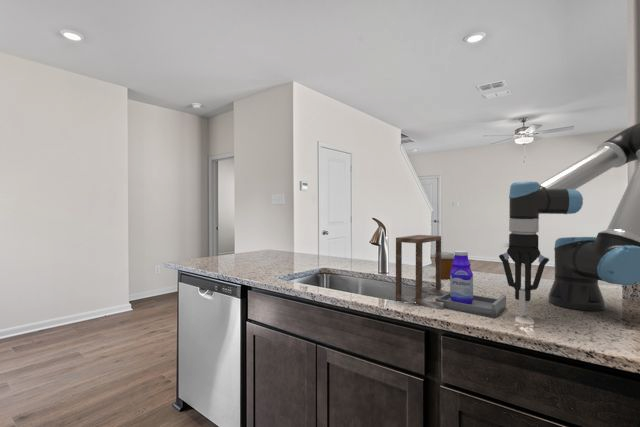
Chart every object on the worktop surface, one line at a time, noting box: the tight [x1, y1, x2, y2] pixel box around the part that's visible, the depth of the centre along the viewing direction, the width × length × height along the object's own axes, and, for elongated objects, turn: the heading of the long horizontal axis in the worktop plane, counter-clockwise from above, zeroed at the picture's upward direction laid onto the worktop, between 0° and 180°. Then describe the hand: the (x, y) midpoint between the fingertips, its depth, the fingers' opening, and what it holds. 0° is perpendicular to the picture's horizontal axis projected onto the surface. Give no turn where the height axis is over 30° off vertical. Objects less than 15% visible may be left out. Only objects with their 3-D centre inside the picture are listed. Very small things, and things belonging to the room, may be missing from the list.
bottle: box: [449, 250, 474, 304], centre depth 110 cm, size 7×6×17 cm
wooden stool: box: [395, 234, 450, 310], centre depth 117 cm, size 16×19×22 cm
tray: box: [435, 292, 507, 319], centre depth 108 cm, size 18×14×4 cm
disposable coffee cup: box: [433, 251, 455, 280], centre depth 154 cm, size 10×10×12 cm
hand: (522, 311), depth 98 cm, fingers closed
